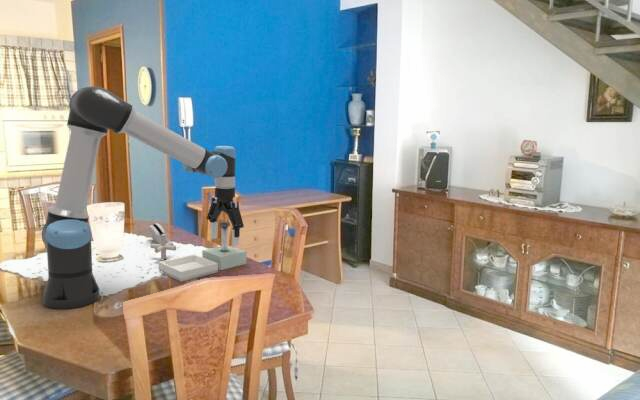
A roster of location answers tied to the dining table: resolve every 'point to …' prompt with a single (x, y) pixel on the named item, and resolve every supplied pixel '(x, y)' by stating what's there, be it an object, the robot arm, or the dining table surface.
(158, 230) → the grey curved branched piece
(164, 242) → the pipe connector
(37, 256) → the dining table surface
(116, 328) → the dining table surface
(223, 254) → the block
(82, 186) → the robot arm
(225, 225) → the steel pin
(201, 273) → the tray
